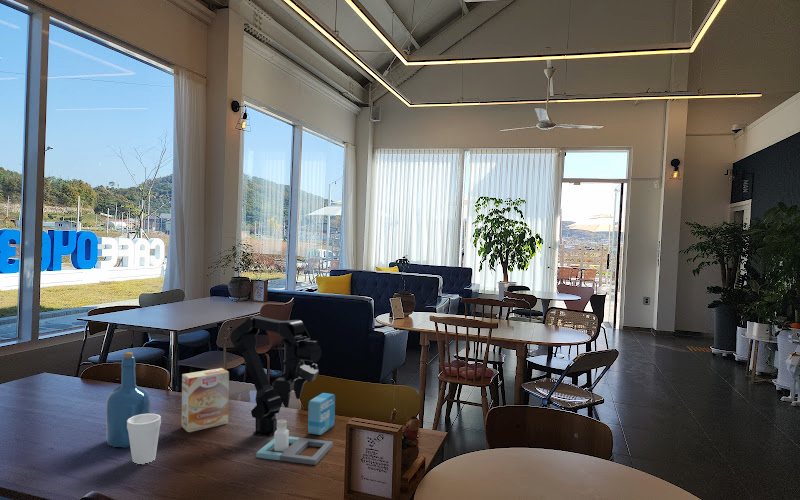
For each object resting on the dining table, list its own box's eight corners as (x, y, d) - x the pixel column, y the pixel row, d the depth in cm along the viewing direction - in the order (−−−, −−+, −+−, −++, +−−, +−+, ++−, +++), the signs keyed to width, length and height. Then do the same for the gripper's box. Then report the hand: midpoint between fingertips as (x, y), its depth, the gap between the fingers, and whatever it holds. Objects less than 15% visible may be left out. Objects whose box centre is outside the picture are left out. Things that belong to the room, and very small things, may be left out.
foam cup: (127, 469, 161) (127, 426, 161) (126, 457, 169) (126, 416, 169) (161, 463, 166) (162, 421, 165) (159, 451, 174) (159, 411, 173)
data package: (318, 436, 189) (319, 402, 188) (307, 434, 190) (308, 401, 190) (334, 425, 200) (335, 393, 200) (324, 423, 202) (324, 391, 201)
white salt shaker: (285, 452, 175) (286, 423, 175) (273, 451, 175) (273, 423, 175) (289, 447, 179) (289, 419, 179) (277, 446, 179) (277, 418, 179)
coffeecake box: (188, 433, 190) (188, 378, 189) (180, 427, 195) (181, 373, 194) (229, 423, 200) (229, 371, 199) (221, 418, 205) (221, 367, 204)
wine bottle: (156, 441, 182) (157, 353, 180) (114, 453, 172) (114, 359, 171) (140, 430, 191) (140, 346, 190) (99, 440, 181) (99, 352, 180)
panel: (256, 457, 171) (256, 452, 171) (277, 439, 186) (277, 435, 186) (315, 464, 167) (315, 460, 166) (332, 446, 181) (332, 441, 181)
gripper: (303, 366, 173) (303, 414, 174) (325, 353, 191) (324, 396, 192) (271, 363, 175) (271, 411, 176) (296, 351, 194) (295, 394, 194)
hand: (292, 402), depth 184 cm, fingers open, 9 cm apart
